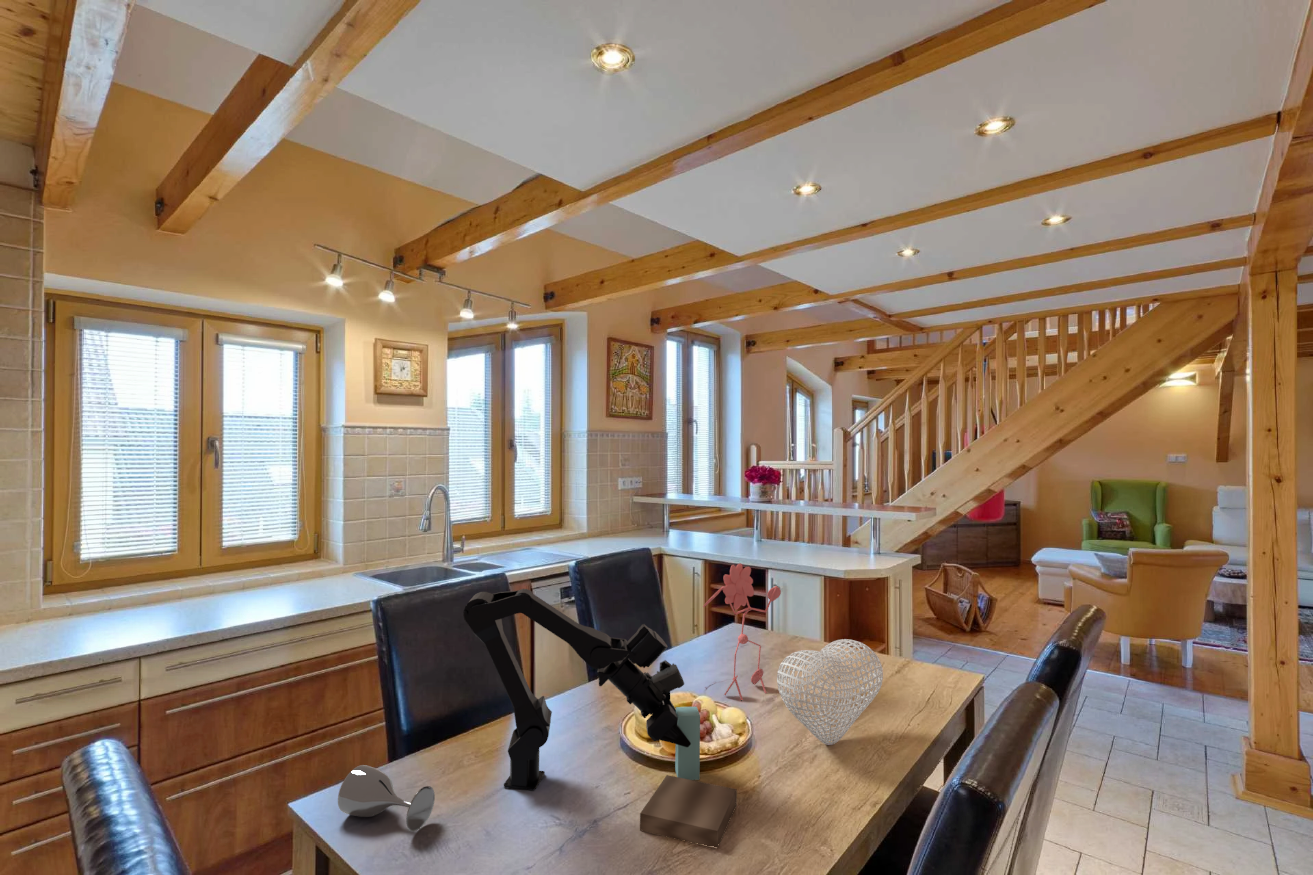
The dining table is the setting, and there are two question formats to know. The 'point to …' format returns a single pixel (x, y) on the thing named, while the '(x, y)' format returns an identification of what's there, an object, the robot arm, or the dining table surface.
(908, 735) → the dining table surface
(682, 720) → the teal block
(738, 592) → the flower headed figure
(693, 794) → the walnut pedestal
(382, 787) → the wine glass
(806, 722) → the heart
